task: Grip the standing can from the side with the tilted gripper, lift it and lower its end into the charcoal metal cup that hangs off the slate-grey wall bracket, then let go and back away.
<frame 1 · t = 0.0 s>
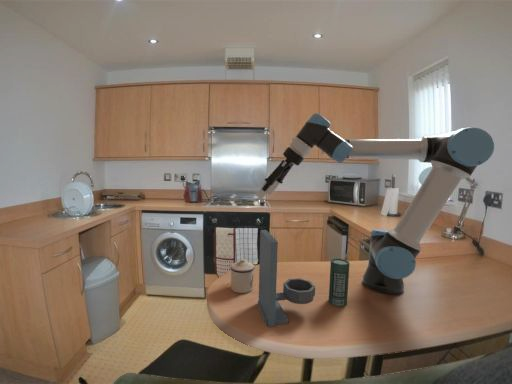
hand: (263, 195, 105), 36 cm above the counter, tool tilted 35°, fingers open, 13 cm apart
can: (337, 302, 94), on the counter
teacup with lid: (241, 287, 104), on the counter
cup bracket: (298, 310, 88), on the counter
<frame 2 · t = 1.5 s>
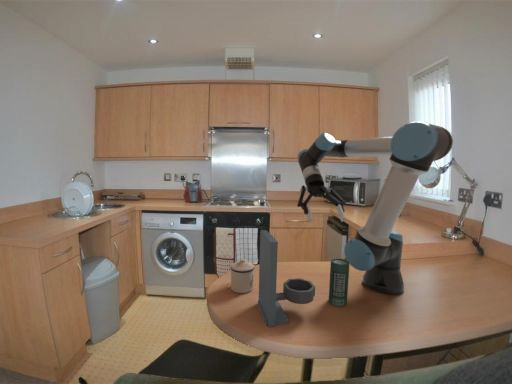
hand: (327, 220, 102), 27 cm above the counter, tool tilted 45°, fingers open, 13 cm apart
nothing on the counter moved.
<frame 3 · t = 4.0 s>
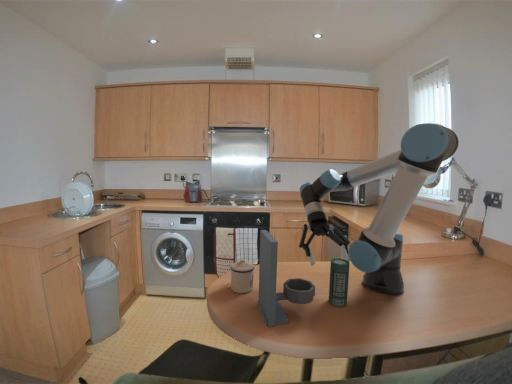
hand: (330, 263, 98), 12 cm above the counter, tool tilted 45°, fingers open, 13 cm apart
nothing on the counter moved.
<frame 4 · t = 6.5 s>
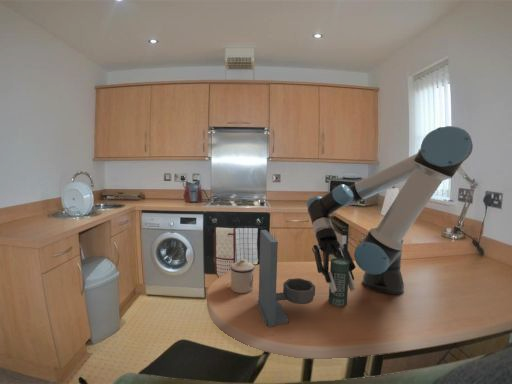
hand: (343, 290, 90), 6 cm above the counter, tool tilted 45°, fingers closed on can, 6 cm apart
can: (337, 302, 94), on the counter, touching gripper
everything else where it was.
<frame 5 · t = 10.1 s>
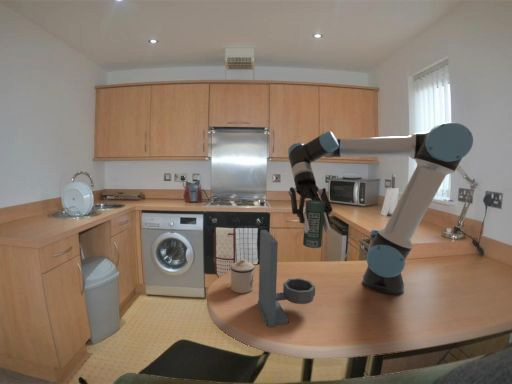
hand: (317, 231, 86), 27 cm above the counter, tool tilted 45°, fingers closed on can, 6 cm apart
can: (312, 245, 91), point 21 cm above the counter, touching gripper
everything else where it was.
when the fingers open (13 cm above the counter, at t = 14.1 s): can drops 1 cm, resting on cup bracket.
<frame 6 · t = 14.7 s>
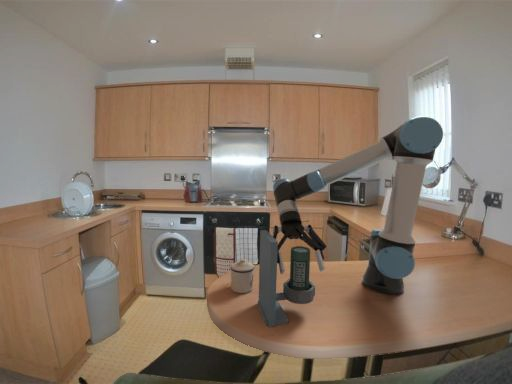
hand: (302, 271, 84), 15 cm above the counter, tool tilted 45°, fingers open, 13 cm apart
can: (299, 293, 88), point 6 cm above the counter, touching cup bracket
everything else where it was.
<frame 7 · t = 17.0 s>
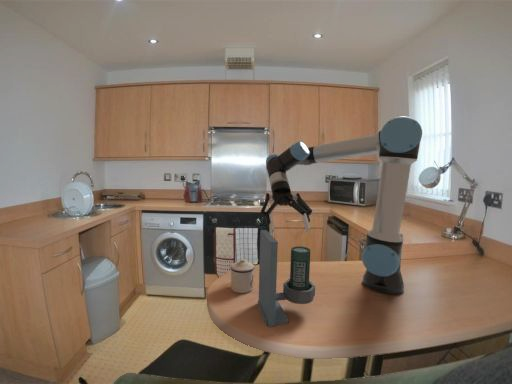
hand: (290, 230, 96), 25 cm above the counter, tool tilted 45°, fingers open, 13 cm apart
nothing on the counter moved.
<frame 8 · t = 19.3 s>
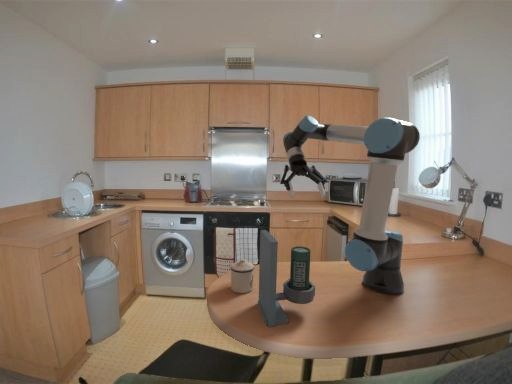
hand: (308, 196, 108), 36 cm above the counter, tool tilted 45°, fingers open, 13 cm apart
nothing on the counter moved.
at the end: can 0.2 cm off-centre on the cup bracket, point 5.8 cm above the cup bracket's base; can tilted 0°; the gripper is holding nothing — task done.
